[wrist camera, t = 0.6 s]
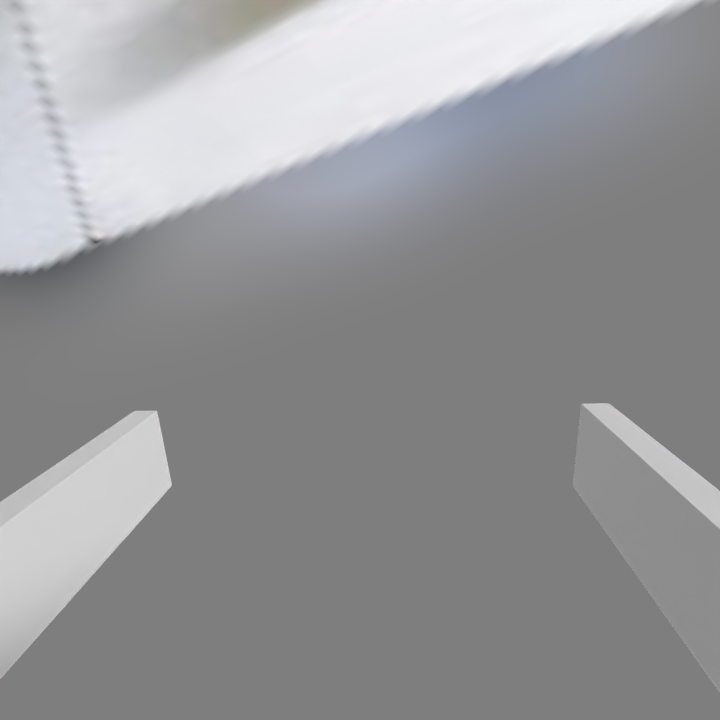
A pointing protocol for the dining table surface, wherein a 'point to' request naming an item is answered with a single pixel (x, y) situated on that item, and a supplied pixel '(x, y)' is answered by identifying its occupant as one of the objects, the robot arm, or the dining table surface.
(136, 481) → the robot arm
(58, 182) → the dining table surface
